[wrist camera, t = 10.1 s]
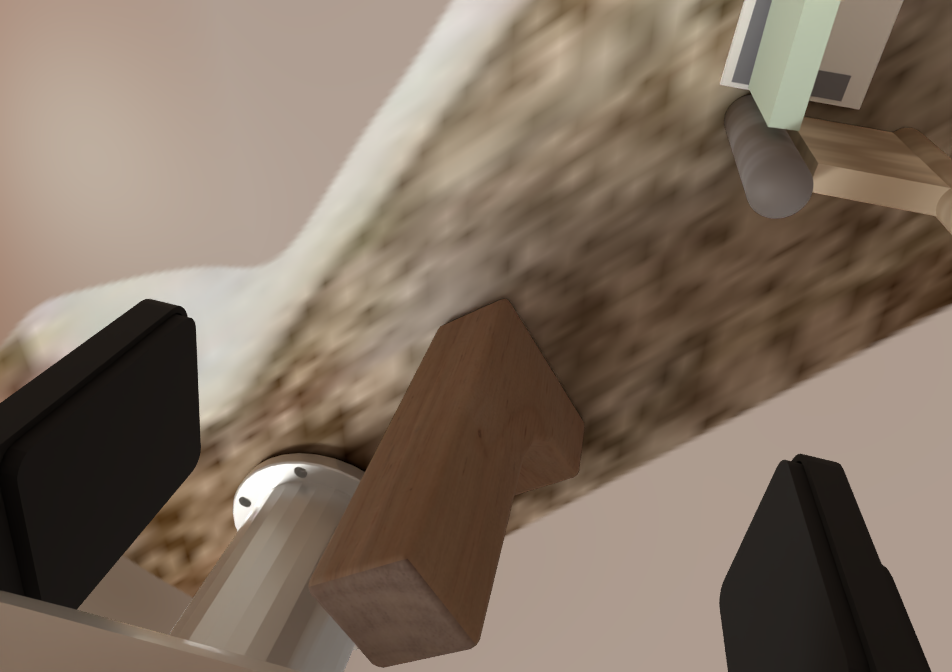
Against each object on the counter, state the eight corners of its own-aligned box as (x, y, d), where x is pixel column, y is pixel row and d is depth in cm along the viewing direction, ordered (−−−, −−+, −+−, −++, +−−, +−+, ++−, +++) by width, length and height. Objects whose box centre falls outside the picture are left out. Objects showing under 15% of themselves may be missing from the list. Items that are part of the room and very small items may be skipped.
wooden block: (588, 424, 40) (547, 735, 25) (518, 447, 42) (442, 750, 27) (508, 293, 37) (407, 557, 22) (436, 325, 39) (299, 589, 24)
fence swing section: (781, 91, 29) (818, 147, 23) (740, 86, 29) (765, 140, 23) (829, -70, 26) (889, -62, 20) (783, -75, 26) (827, -67, 20)
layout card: (919, -46, 27) (922, -45, 26) (857, 107, 30) (859, 110, 29) (764, -69, 27) (766, -69, 27) (719, 83, 30) (720, 85, 30)
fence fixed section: (934, 126, 29) (1030, 203, 22) (912, 174, 31) (997, 262, 23) (732, 90, 30) (758, 152, 23) (718, 137, 31) (737, 211, 24)
